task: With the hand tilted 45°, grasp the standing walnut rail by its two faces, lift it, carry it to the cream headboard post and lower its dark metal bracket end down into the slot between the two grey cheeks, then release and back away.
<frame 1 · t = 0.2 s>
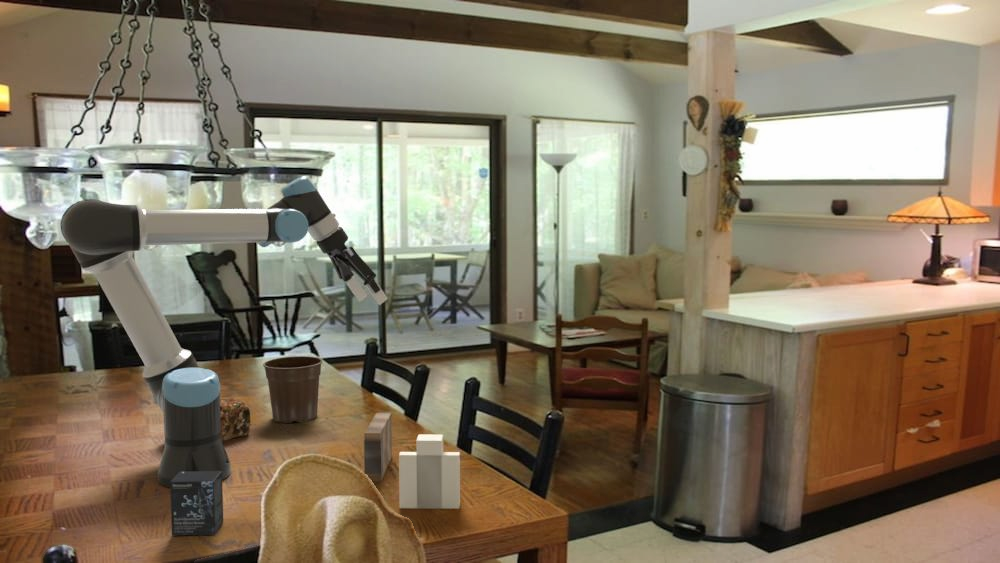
hand: (373, 300, 203), 35 cm above the table, tool tilted 35°, fingers open, 13 cm apart
bread: (209, 439, 199), on the table
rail: (379, 469, 177), on the table
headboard: (432, 495, 161), on the table
plant pot: (294, 418, 218), on the table
box: (198, 531, 144), on the table
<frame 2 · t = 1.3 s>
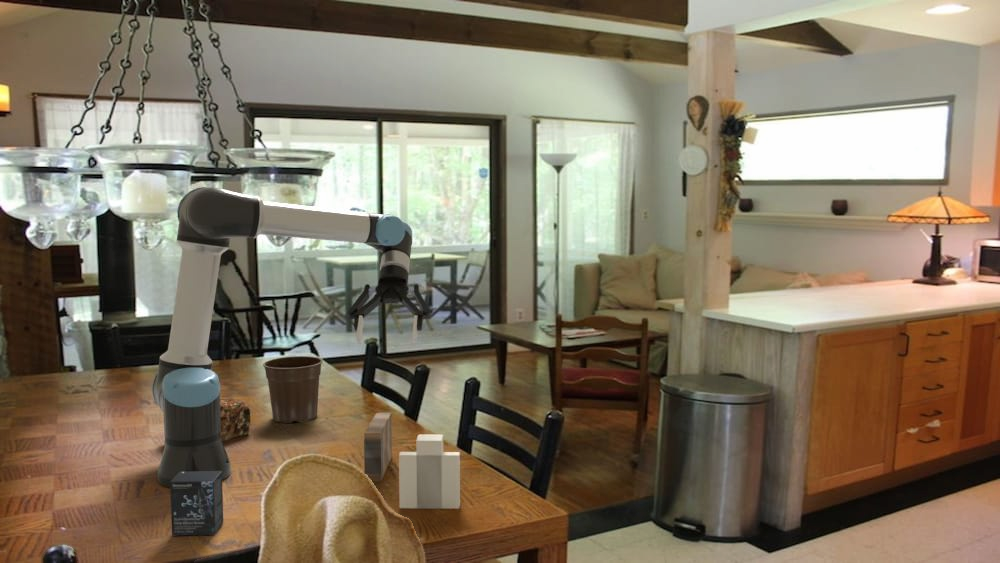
hand: (386, 340, 187), 27 cm above the table, tool tilted 45°, fingers open, 13 cm apart
nothing on the table moved.
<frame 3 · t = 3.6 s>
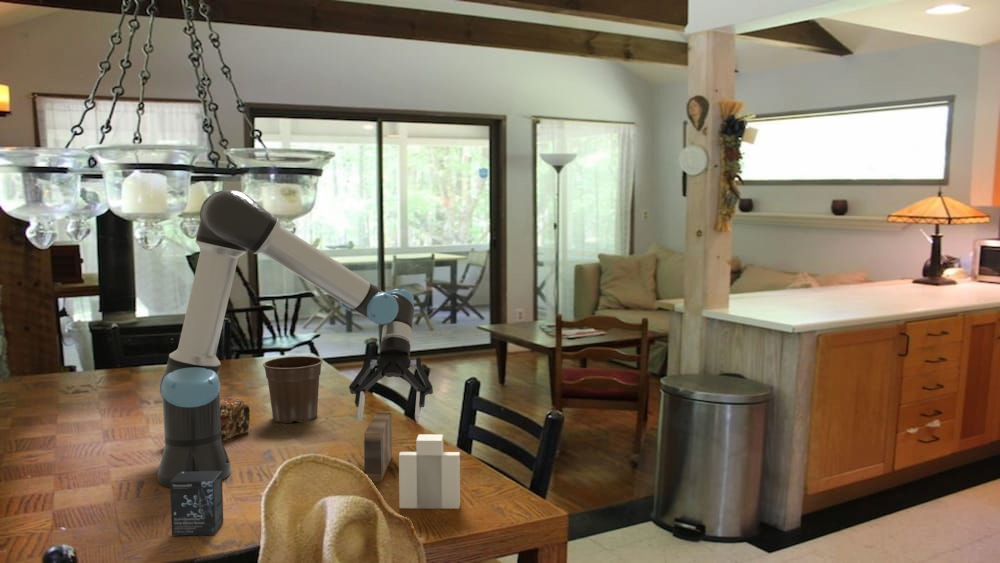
hand: (388, 418, 183), 10 cm above the table, tool tilted 45°, fingers open, 13 cm apart
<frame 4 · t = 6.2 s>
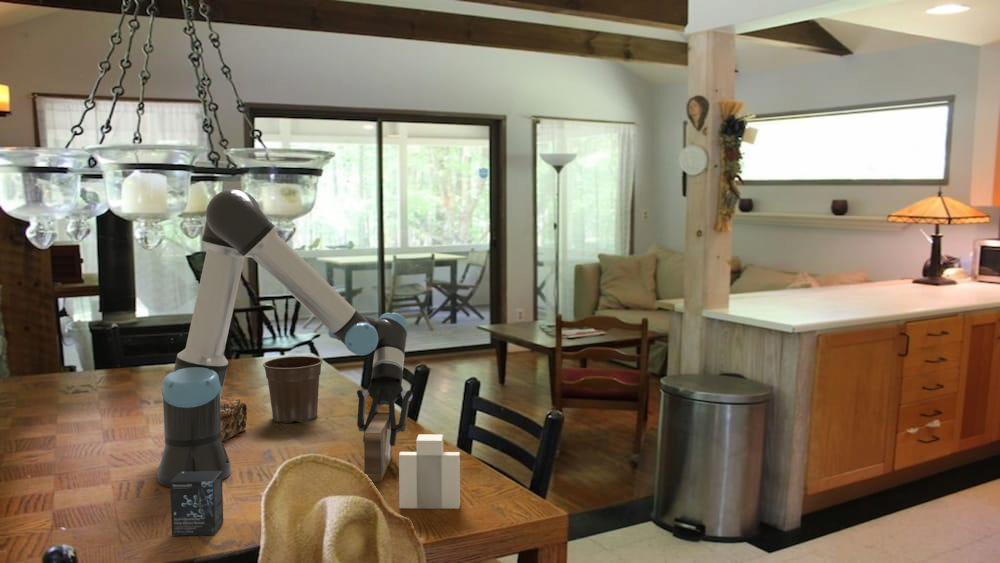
hand: (377, 457, 175), 3 cm above the table, tool tilted 45°, fingers closed on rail, 3 cm apart
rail: (379, 468, 177), on the table, touching gripper
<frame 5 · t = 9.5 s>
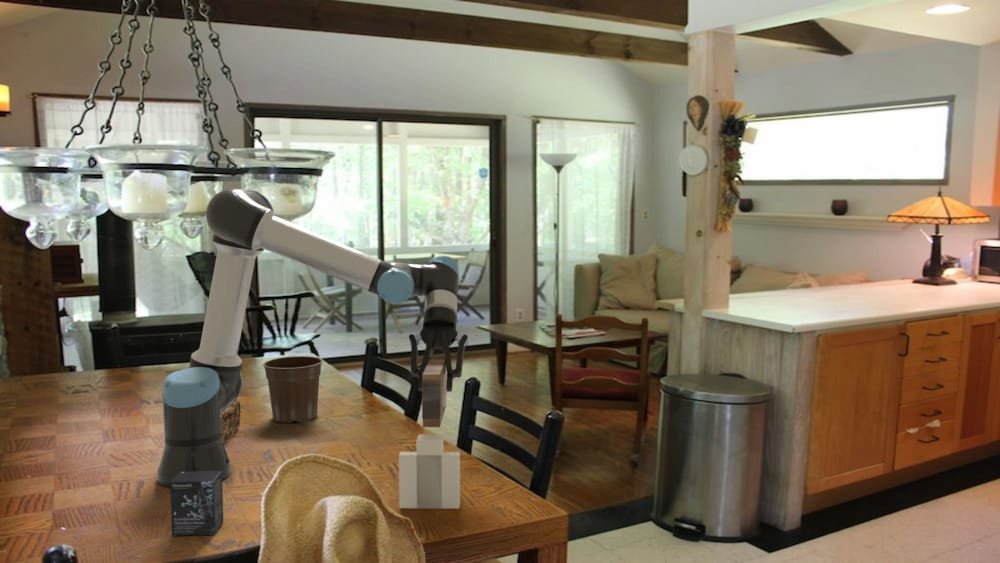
hand: (434, 403, 163), 19 cm above the table, tool tilted 45°, fingers closed on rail, 3 cm apart
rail: (434, 416, 165), point 15 cm above the table, touching gripper
when the fingers open (4 cm above the table, at t = 12.9 s): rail stays where it is, on the table.
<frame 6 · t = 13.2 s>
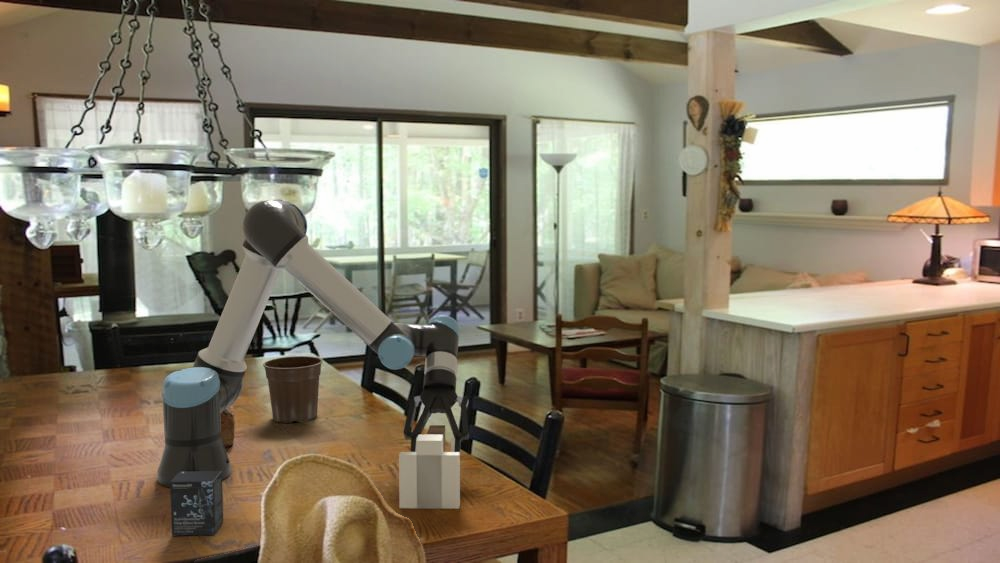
hand: (434, 467, 165), 4 cm above the table, tool tilted 45°, fingers open, 7 cm apart
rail: (434, 485, 167), on the table
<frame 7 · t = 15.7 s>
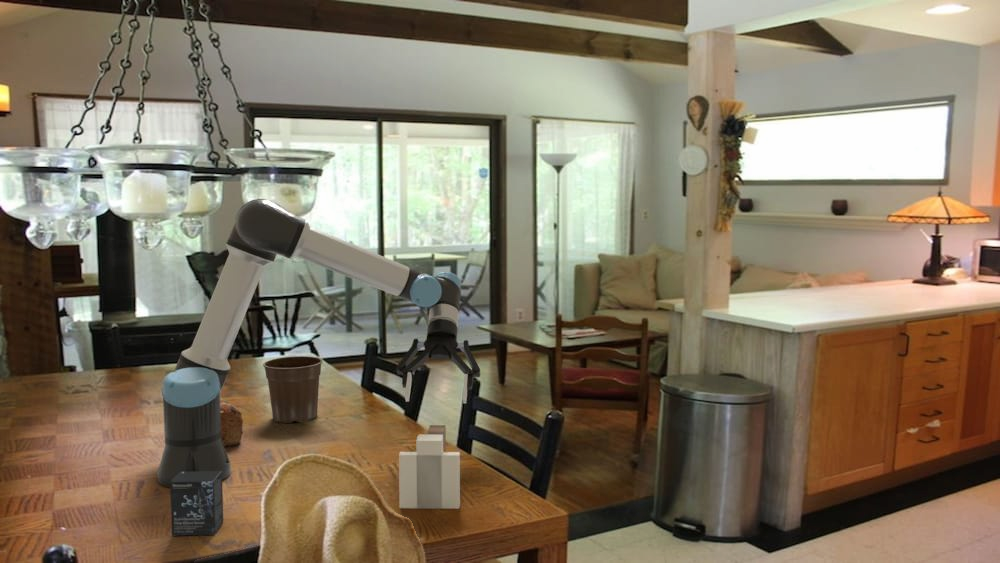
hand: (435, 399, 181), 15 cm above the table, tool tilted 45°, fingers open, 13 cm apart
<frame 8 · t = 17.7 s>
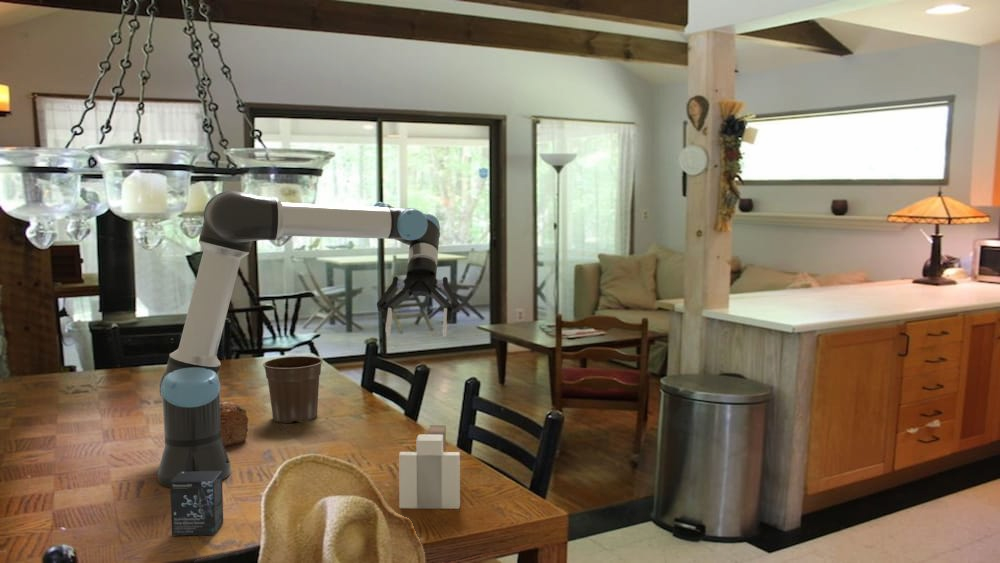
hand: (416, 333, 184), 30 cm above the table, tool tilted 45°, fingers open, 13 cm apart
at the end: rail 0.2 cm from the target spot on the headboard, point 0.0 cm above the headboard's base; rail tilted 0°; the gripper is holding nothing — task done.
